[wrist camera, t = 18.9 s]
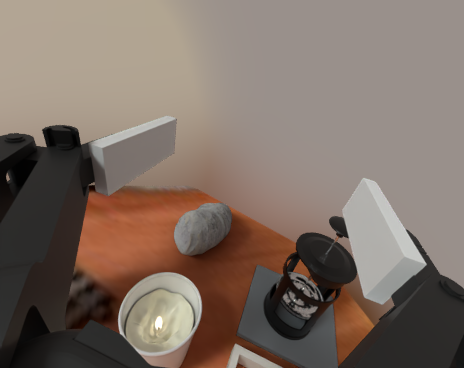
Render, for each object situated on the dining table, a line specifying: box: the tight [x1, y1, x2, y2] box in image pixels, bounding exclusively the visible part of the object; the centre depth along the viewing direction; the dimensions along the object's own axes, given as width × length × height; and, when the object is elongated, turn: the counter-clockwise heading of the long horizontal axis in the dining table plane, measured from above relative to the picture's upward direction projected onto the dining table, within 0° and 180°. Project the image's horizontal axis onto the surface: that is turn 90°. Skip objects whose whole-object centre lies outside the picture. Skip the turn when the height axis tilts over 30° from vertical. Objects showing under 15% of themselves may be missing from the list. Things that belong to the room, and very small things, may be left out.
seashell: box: [174, 203, 232, 256], centre depth 51 cm, size 16×15×10 cm
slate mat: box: [236, 264, 338, 368], centre depth 41 cm, size 15×17×1 cm
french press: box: [263, 216, 357, 340], centre depth 34 cm, size 12×9×23 cm
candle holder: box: [118, 272, 202, 368], centre depth 29 cm, size 10×10×12 cm
